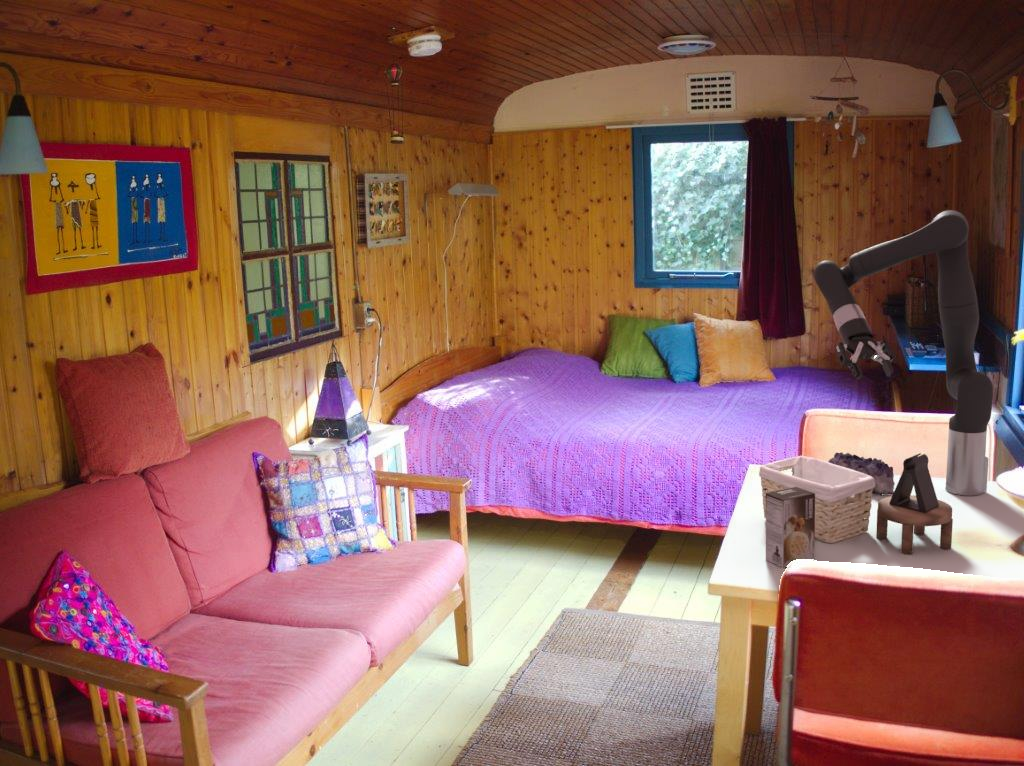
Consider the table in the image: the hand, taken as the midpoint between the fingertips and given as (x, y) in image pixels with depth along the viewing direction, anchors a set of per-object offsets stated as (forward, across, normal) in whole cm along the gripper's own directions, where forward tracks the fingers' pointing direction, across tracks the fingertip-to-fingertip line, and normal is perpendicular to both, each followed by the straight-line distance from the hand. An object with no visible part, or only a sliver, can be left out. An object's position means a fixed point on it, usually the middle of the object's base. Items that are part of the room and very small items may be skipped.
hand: (875, 376), depth 249 cm
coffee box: (+44, -37, +6) cm, 57 cm away
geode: (+13, +7, +36) cm, 39 cm away
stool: (+43, -5, +6) cm, 43 cm away
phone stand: (+36, -5, 0) cm, 37 cm away
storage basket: (+31, -21, +18) cm, 42 cm away
